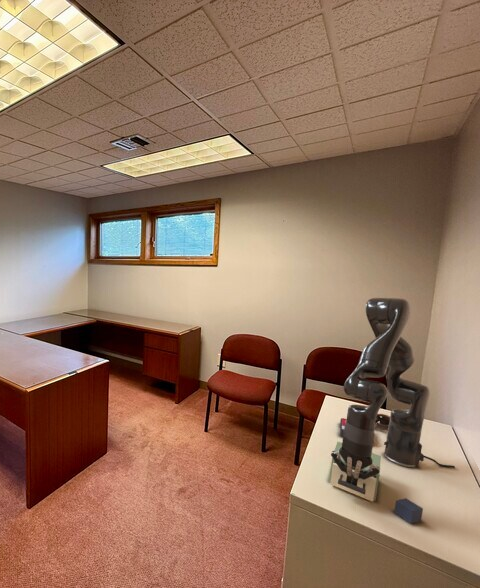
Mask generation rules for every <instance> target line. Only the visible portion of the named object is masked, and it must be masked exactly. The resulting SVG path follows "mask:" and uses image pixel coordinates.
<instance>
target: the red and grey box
mask: <svg viewBox="0 0 480 588" xmlns="http://www.w3.org/2000/svg"><path fill="white" fill-rule="evenodd" d="M346 420H347V418H345V417H341V418H340V420H339V421H340V422H339V437H340V438H343V434H344V433H343V431H344V427H345V424H346Z"/></svg>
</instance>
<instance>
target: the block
mask: <svg viewBox="0 0 480 588" xmlns="http://www.w3.org/2000/svg"><path fill="white" fill-rule="evenodd" d="M423 511H424V508H423V507H421V506H420V505H418V504H416V503H415V502H413V501H411V500H410V499H408V498H407V497H404V498H401V499H396V500H395V504H394V510H393V513H394V514H395V515H397V516H398V517H399V518H401V519H403V520H404V521H406V522H407V523H409V524H410V525H412V524H416V523H419V522H420V523H421V522H422V516H423Z"/></svg>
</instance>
